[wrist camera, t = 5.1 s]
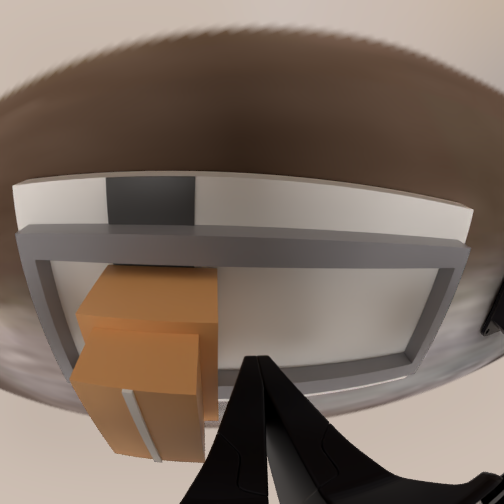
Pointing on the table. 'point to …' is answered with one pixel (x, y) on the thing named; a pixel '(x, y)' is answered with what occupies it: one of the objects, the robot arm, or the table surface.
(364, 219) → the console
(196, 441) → the fader knob
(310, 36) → the table surface
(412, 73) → the table surface
